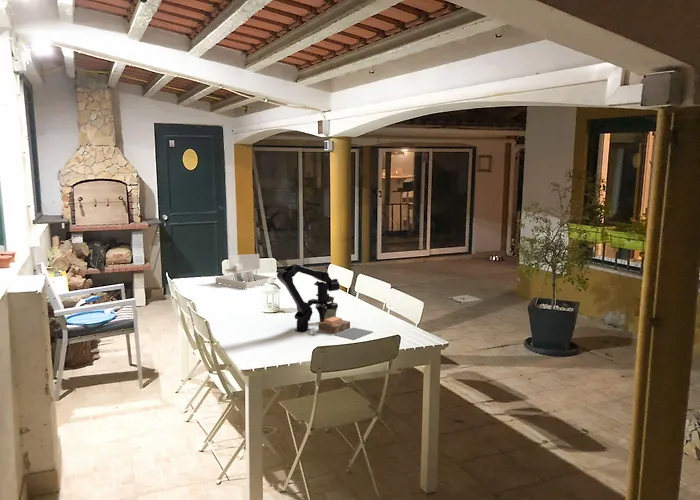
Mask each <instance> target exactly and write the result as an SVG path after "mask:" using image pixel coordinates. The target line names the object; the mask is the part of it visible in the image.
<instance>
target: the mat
mask: <svg viewBox="0 0 700 500" xmlns="http://www.w3.org/2000/svg"><path fill="white" fill-rule="evenodd" d="M372 333H374V331H372V330H367V329H364V328H359V327H358V328H357V327H350V329H347V330H344V331H342V332H339V333H336V334H334V336H337V337H340V338H344V339H349V340H352V341H353V340H354V341H355V340H357V338H358V339H360V338H362V336H363V337H365V336H367V334H368V335H371V334H372ZM364 335H365V336H364Z"/></svg>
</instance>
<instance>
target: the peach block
mask: <svg viewBox="0 0 700 500" xmlns="http://www.w3.org/2000/svg"><path fill="white" fill-rule="evenodd" d="M342 320H343V318H342V317H339V316H336V317H331V318H328V319H325V320H324V323H326V324H330V325H333V324H336V323H339V322H342Z"/></svg>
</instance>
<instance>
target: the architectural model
mask: <svg viewBox="0 0 700 500" xmlns="http://www.w3.org/2000/svg"><path fill="white" fill-rule="evenodd" d="M260 262H261V260H260V253H257V254H256V253H251V254H250V253H247V254H234V255H228V264H229V265H228V266H229V268H227V269H225V270H224V271H225V273H226V272H227V273H231V274H234V278H235V280H234V281H240V282H243V281H245V283H247V282H252V281H254V280H253V274H254V272H255V274H256V281H257V275H258V271H260V270H261V267H260V265H261V264H260Z"/></svg>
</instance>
